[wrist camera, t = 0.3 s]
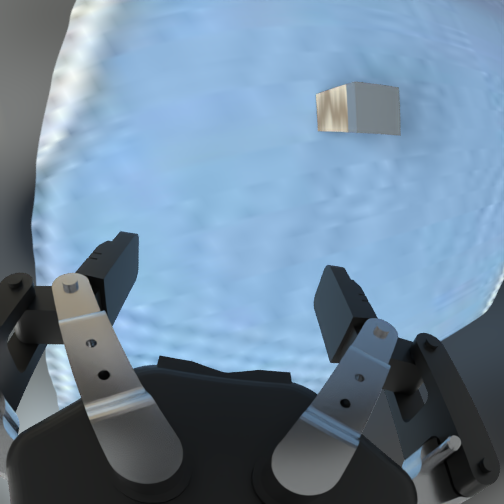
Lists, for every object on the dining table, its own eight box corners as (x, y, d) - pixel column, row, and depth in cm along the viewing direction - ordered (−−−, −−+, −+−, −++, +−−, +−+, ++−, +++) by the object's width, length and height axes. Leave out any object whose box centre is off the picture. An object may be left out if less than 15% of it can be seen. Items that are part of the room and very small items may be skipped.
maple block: (316, 94, 34) (354, 81, 23) (351, 96, 34) (398, 87, 23) (317, 131, 36) (356, 132, 25) (352, 131, 36) (400, 135, 25)
